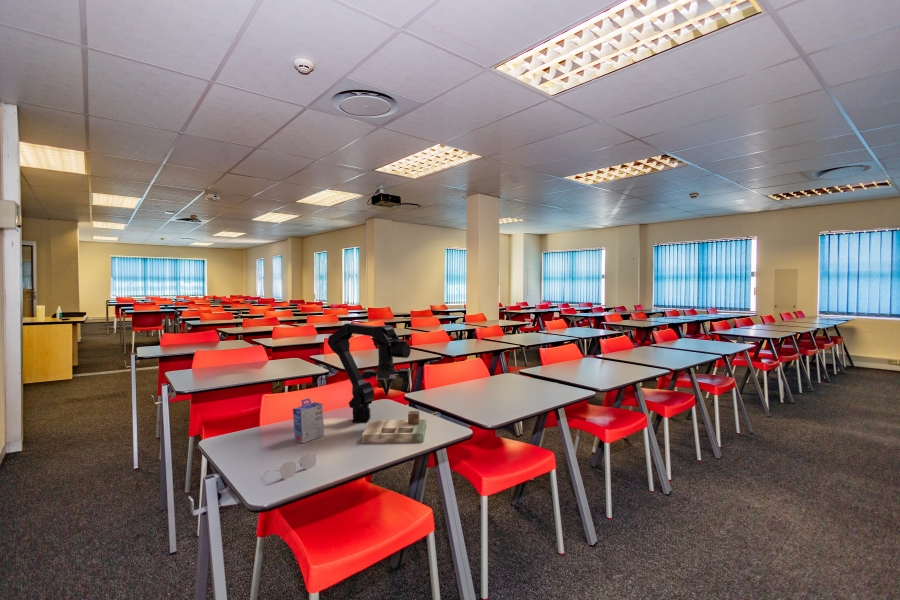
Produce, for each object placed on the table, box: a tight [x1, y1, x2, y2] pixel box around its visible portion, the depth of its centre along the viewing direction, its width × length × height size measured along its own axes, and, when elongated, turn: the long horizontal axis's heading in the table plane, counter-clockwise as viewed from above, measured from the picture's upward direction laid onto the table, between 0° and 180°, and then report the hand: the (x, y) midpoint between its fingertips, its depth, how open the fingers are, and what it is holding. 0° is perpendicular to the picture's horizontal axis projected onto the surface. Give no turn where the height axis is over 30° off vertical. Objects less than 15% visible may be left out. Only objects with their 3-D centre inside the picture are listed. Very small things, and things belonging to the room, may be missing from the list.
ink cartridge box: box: [292, 398, 325, 444], centre depth 157 cm, size 10×6×14 cm, turn 145°
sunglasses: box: [264, 451, 317, 481], centre depth 130 cm, size 14×8×5 cm, turn 148°
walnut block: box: [407, 410, 421, 425], centre depth 163 cm, size 4×4×4 cm
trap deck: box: [361, 419, 427, 444], centre depth 159 cm, size 22×16×3 cm
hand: (386, 395), depth 171 cm, fingers closed
